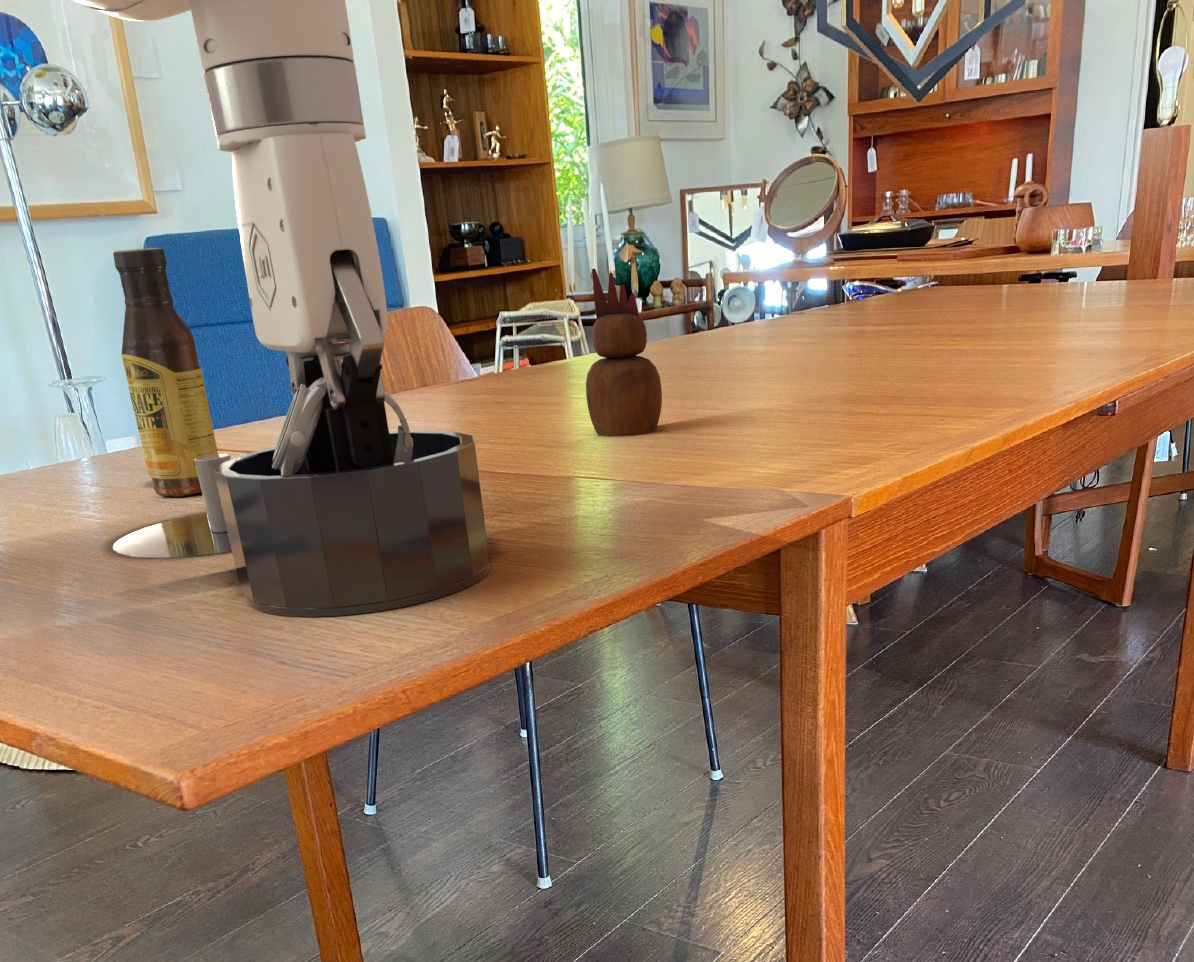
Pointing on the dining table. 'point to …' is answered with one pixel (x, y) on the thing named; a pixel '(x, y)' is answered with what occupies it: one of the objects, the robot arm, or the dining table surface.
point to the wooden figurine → (621, 368)
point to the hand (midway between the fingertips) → (350, 470)
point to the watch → (304, 423)
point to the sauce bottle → (163, 375)
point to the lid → (185, 525)
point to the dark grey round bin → (356, 530)
